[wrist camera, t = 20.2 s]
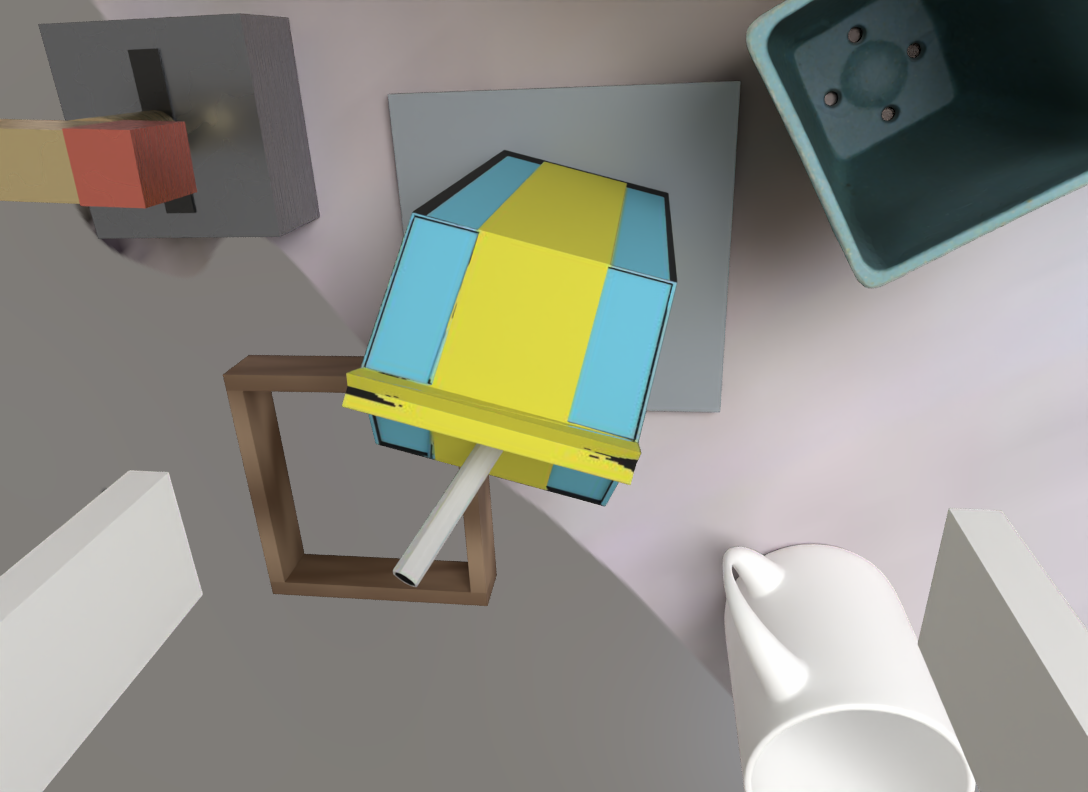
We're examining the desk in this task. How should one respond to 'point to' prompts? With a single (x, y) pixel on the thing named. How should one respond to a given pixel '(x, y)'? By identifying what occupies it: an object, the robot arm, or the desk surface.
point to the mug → (831, 679)
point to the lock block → (198, 116)
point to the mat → (617, 152)
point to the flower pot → (928, 116)
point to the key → (96, 160)
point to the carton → (520, 335)
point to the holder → (278, 513)
